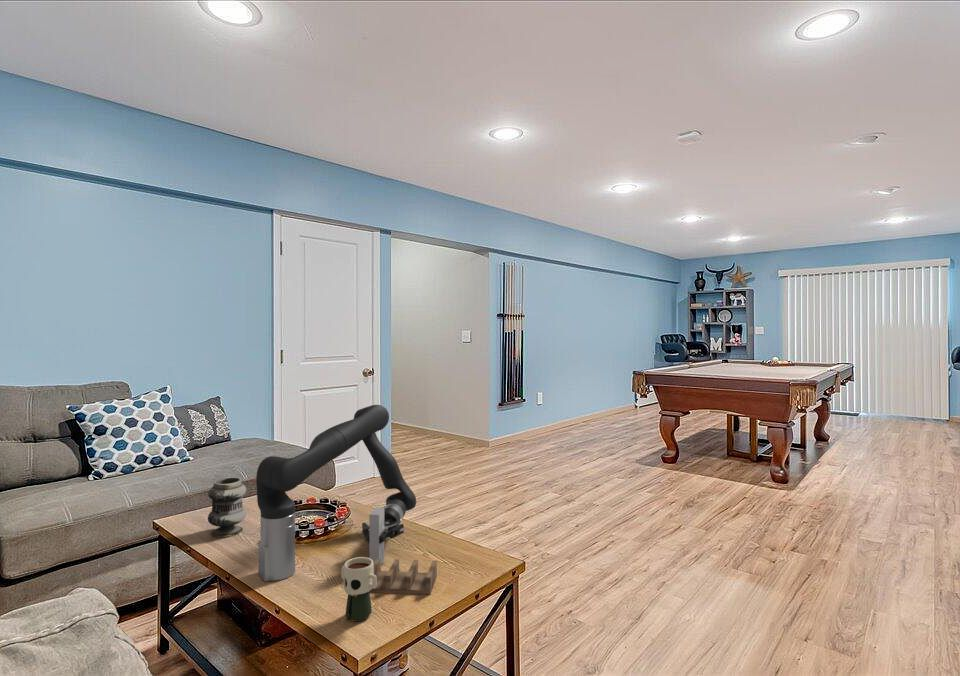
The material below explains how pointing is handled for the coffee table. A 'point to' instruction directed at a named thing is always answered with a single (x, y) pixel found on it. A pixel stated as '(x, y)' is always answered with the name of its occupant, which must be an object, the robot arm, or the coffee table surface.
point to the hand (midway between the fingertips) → (374, 539)
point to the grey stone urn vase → (227, 506)
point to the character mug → (358, 586)
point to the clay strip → (376, 534)
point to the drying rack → (404, 579)
